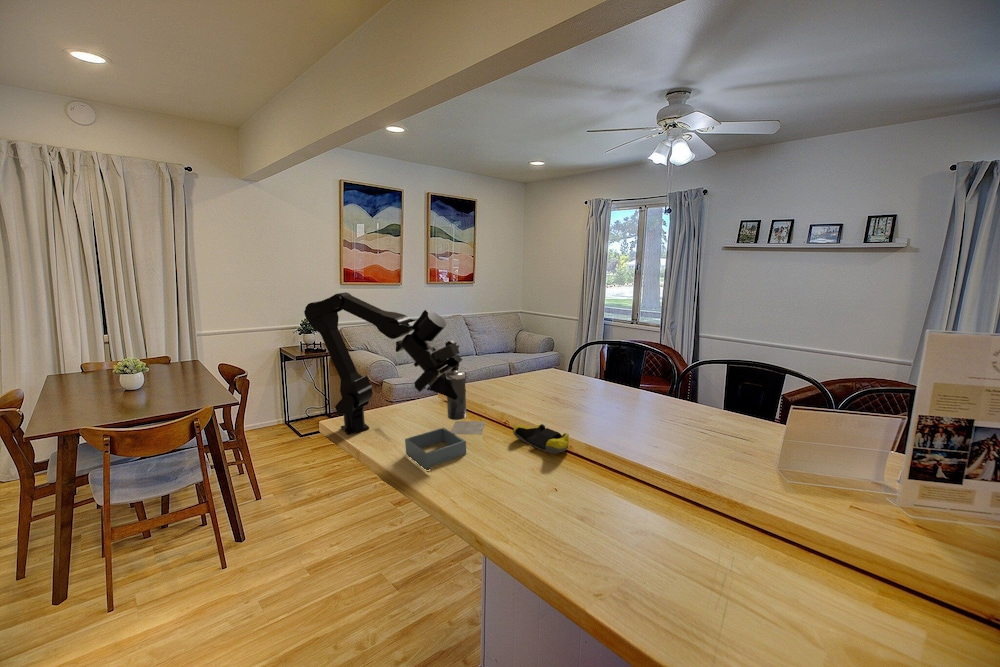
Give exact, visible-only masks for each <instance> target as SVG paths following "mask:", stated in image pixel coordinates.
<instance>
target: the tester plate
mask: <svg viewBox="0 0 1000 667" xmlns="http://www.w3.org/2000/svg"><path fill="white" fill-rule="evenodd" d="M486 422H487V421H477V420H476V421H474V420H473V421H472V420H471V421H469V420H455V422H454V424H453V426H452V428H451V430H450V432H452V433H453V434H455V435H483V431H484V428H485V425H486Z"/></svg>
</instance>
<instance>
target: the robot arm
mask: <svg viewBox="0 0 1000 667" xmlns="http://www.w3.org/2000/svg"><path fill="white" fill-rule="evenodd" d="M341 311H345V312H347V313H348V314H352V315H353V316H356V317H357V318H360V319H361V320H364V321H366V322H368V323H370V324H372V325H373V326H374V327H376V329H377V330H378V332H380V333H381V334H383V335H384V336H386V337H387V338H388V339H391V340H395V339H397V338H400V337H403V336H404V337H403V338H402V339H401V340H400V339H399V340H397V341H396V342H395V352H396V353H399V352H401V351H403V350H404V351H405V352H406V353H407V354H408V356H409V357H411V359H412V360H413V361H414V363H413V366H414V367H416V368H417V367H418V366H419V367H420V369H421V370H422V371H423V372H422V373H421V374H420V376H419V377H418V378H416V380H415V381H414V384H413V385H414V388H415V389H416V390H417V391H418V393H421V392H422V391H423V392H424V390H425V389H426V387H427V386H428V387H427V389H426V391H430V392H434V393H437V394H440V395H442V396H444V397H446V398H447V397H449V398H452V399H454V400H456V399H457V398H458V396H457V394H456V393H455V392H454V390H453V389H452V388H451V386H450V385H449V384H448V382H447V381H446V373H447V372H450V371H454V370H458V371H459V367H460V363H461V362H462V361H463V358H462V357H461V356H460V355H459V354H460V353H461V352H460V350H459V348H460V344H458V343H457V342H456V341H454V340H453V339H450V340H448V341H447V342H446V341H445V343H444V344H445V346H443V347H442V348H438V347H437V346H431V345H430V344H429V343H428V342H433V341H434V340H435V338H437V336H438V335H439V334H440V333H441V332H442V331H443V330H445V328H446V327H447V323H446V321H445V319H444V318H443V317H442V315H439V314H437V313H436V312H433V311H431V310H430V308H426V309H424V310H423V311H422V313H421V315H420V316H419V317H418V319H412V318H410V317H409V316H408V315H406V314H404V313H399V312H397V311H396V312H395V311H387V310H383V309H381V308H379V307H377V306H375V305H372V304H370V303H369V302H366V301H364V300H362V299H360V298H358V297H355V296H353V295H352V294H350V293H349V292H340V293H335V294H333V295H332V296H330V297H328V298H325V299H322V300H319V301H314V302H309V303H308V304H307V305H306V306H305V309H304V310H303V312H304V316H305V319H306V320H307V322H308V324H309V325H310V326H311V328H312V329H313V330H314V331H316V332H317V333H319V334H320V335H321V338H322V340H323V343H324V345H325V347H326V349H327V351H328V354H329V356H330V360H331V361H332V364H333V365H334V367H335V369H336V372H337V375H338V376H339V379H340V386H339V392H340V396H341V399H340V400H339V401H338V402H337V404H336V405H335V406H334V408H335V410H336V413H337V414H342V415H343V423H344V424H343V425H341V426H340V429H341V428H342V429H343V430H344V431H345V432H346V433H345V432H344V433H345V434H347V435H351V434H350V433H352V434H354V433H353V432H356V433H358V432H357V431H359V432H362V430H363V431H366V429H367V430H369V429H370V426H369V425H368V424H366V423H365V421H366V420H365V412H364V411H365V410H364V407H366V406H368V405H369V402H370V400H371V399H372V397H373V394H374V393H373V387H374V386H373V385H372V384H371V382H370V379H369V377H368V375H364V376H363V375H361V374H359V372H358V371H357V368H356V367H355V363H354V362H353V359H352V358H351V355H350V352H349V349H348V348H347V345H346V344H345V341H344V339H343V336H342V334H341V332H340V330H339V326H338V325H339V318H340V317H339V314H338V313H339V312H341ZM412 331H413V332H412ZM410 332H412V333H410ZM409 333H410V334H409ZM343 430H342V431H343Z"/></svg>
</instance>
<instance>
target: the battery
mask: <svg viewBox="0 0 1000 667" xmlns="http://www.w3.org/2000/svg"><path fill="white" fill-rule="evenodd" d="M446 381H447V382H448V384H449V385H450V386H451V388H452V389H453V390H454V392H455V393H456V394H457V396H458V398H457V399H456V400H454V399H452V398H449V397H447V396H446V404H447V418H448V419H449V420H453V421H454V420H455V421H461V420H463V419H466V418H467V395H466V392H467V389H466V372H465V371H462V370H459V369H458V370H454V371H450V372H447V373H446Z"/></svg>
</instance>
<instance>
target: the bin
mask: <svg viewBox="0 0 1000 667" xmlns="http://www.w3.org/2000/svg"><path fill="white" fill-rule="evenodd" d="M440 442H445V443H446V444H448V445H447V446H443V447H441V448H437V449H434V450H432V451H428V452H426V451H425V450H423V449H422V448H424V447H428V446H430V445H431V446H432V445H434V444H437V443H440ZM404 445H405V455H406V454H407V455H408V456H409V457H411V458H412V459H413V460H414V461H416V462H417V463H418V464H419V465H420V466H422V467H423V468H424V469H426V470H429V469H431V468H430V467H434V466H436V465H439V464H442V463H445V462H448V461H450V460H453V459H456V458H459V457H462V456H464V455H467V441H466V440H465V439H464V438H462V437H460V436H458V434H453V433H452V432H451V430H449V429H446V428H445V427H441V428H436V429H433V430H430V431H427V432H424V433H421V434H416V435H413V436H410V437H407V438H405V440H404ZM407 455H406V456H407ZM408 456H407V457H408ZM409 457H408V458H409ZM412 459H411V460H412ZM413 460H412V461H413ZM414 461H413V462H414ZM417 463H416V464H417ZM418 464H417V465H418ZM419 465H418V466H419ZM420 466H419V467H420ZM423 468H422V469H423ZM424 469H423V470H424Z"/></svg>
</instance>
